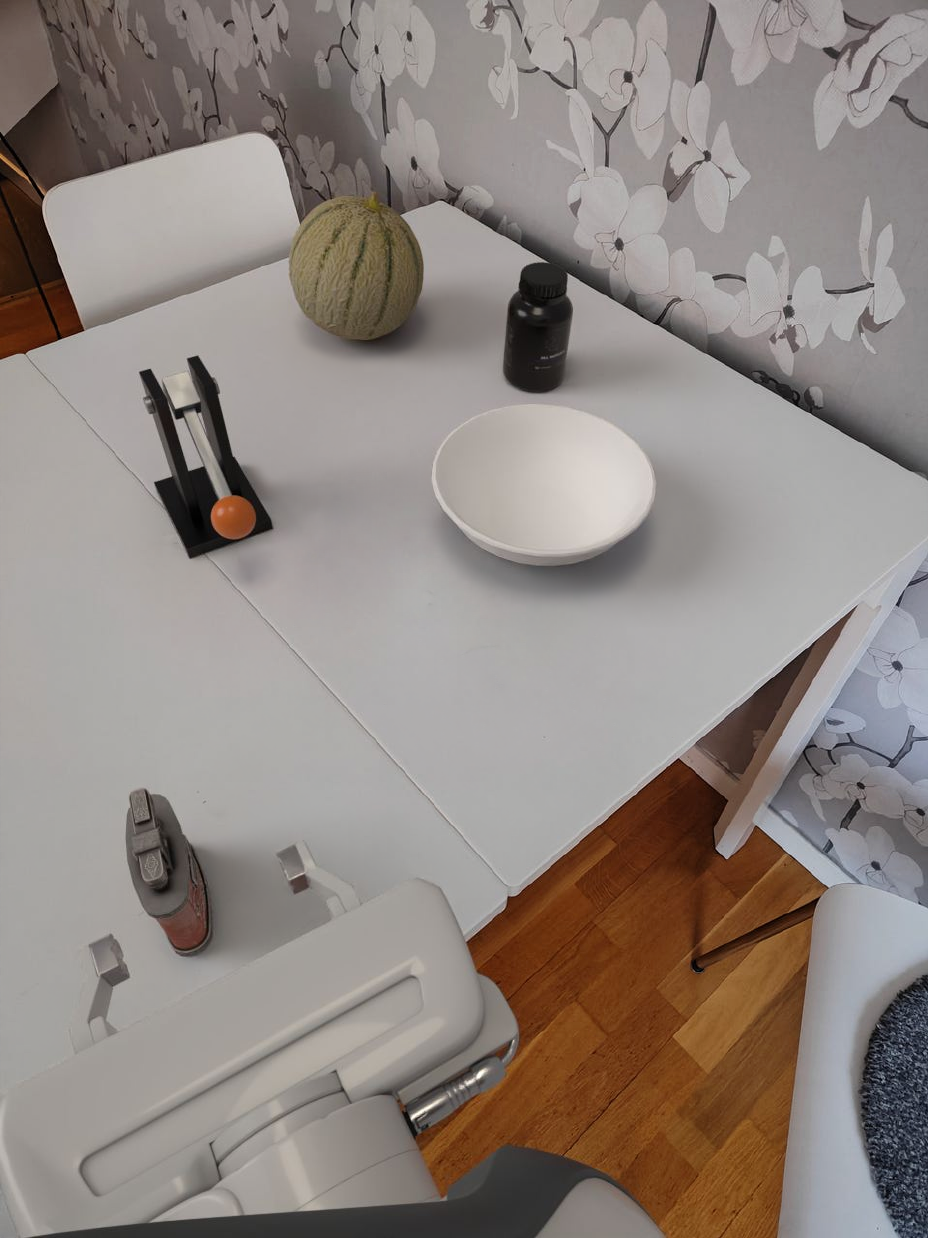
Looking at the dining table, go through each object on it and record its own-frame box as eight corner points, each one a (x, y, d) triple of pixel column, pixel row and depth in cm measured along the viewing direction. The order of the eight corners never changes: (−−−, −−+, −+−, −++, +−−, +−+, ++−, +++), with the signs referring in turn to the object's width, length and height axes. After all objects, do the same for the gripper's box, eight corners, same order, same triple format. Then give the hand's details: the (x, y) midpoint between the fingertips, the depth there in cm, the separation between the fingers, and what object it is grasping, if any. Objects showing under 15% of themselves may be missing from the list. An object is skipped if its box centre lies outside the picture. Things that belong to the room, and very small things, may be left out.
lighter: (221, 945, 57) (186, 885, 49) (169, 965, 56) (124, 907, 48) (198, 837, 61) (162, 767, 53) (149, 854, 60) (105, 784, 53)
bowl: (468, 437, 89) (470, 385, 84) (660, 479, 86) (673, 428, 81) (401, 573, 77) (398, 521, 72) (621, 629, 74) (633, 579, 69)
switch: (261, 535, 74) (264, 524, 70) (220, 549, 73) (221, 539, 69) (196, 382, 74) (196, 364, 71) (155, 394, 73) (152, 377, 70)
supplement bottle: (551, 400, 93) (563, 298, 84) (492, 383, 95) (498, 281, 86) (573, 366, 97) (587, 265, 88) (517, 350, 99) (524, 249, 90)
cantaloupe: (271, 335, 100) (248, 205, 88) (353, 281, 108) (342, 155, 96) (370, 382, 95) (360, 250, 83) (450, 321, 102) (450, 193, 91)
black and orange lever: (273, 528, 80) (245, 396, 69) (189, 558, 78) (145, 426, 66) (236, 465, 86) (204, 332, 74) (156, 491, 83) (110, 358, 72)
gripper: (545, 1040, 35) (392, 770, 42) (13, 1371, 28) (-57, 982, 36) (533, 1075, 40) (397, 827, 47) (77, 1364, 33) (4, 1023, 41)
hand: (198, 896), depth 41 cm, fingers open, 8 cm apart
